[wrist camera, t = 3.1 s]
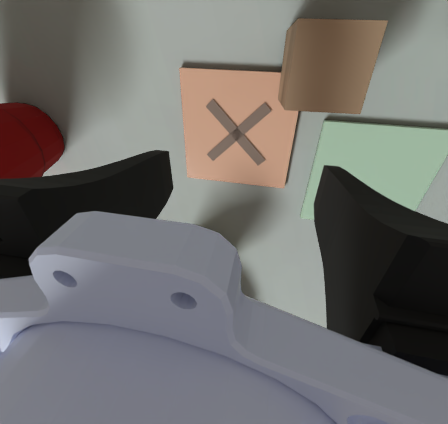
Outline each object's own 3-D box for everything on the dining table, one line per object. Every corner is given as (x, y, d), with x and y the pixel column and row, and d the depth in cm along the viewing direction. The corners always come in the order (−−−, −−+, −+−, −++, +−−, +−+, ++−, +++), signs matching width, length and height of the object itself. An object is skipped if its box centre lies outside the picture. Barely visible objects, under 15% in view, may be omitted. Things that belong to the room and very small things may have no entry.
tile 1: (305, 73, 17) (305, 74, 17) (284, 186, 23) (284, 188, 22) (181, 67, 19) (178, 68, 18) (188, 175, 24) (187, 177, 23)
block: (351, 32, 16) (388, 20, 11) (334, 101, 18) (360, 114, 13) (286, 30, 16) (298, 18, 12) (277, 98, 18) (284, 110, 14)
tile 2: (457, 129, 17) (461, 131, 17) (401, 228, 23) (403, 231, 22) (324, 119, 19) (324, 121, 18) (300, 215, 24) (300, 218, 24)
